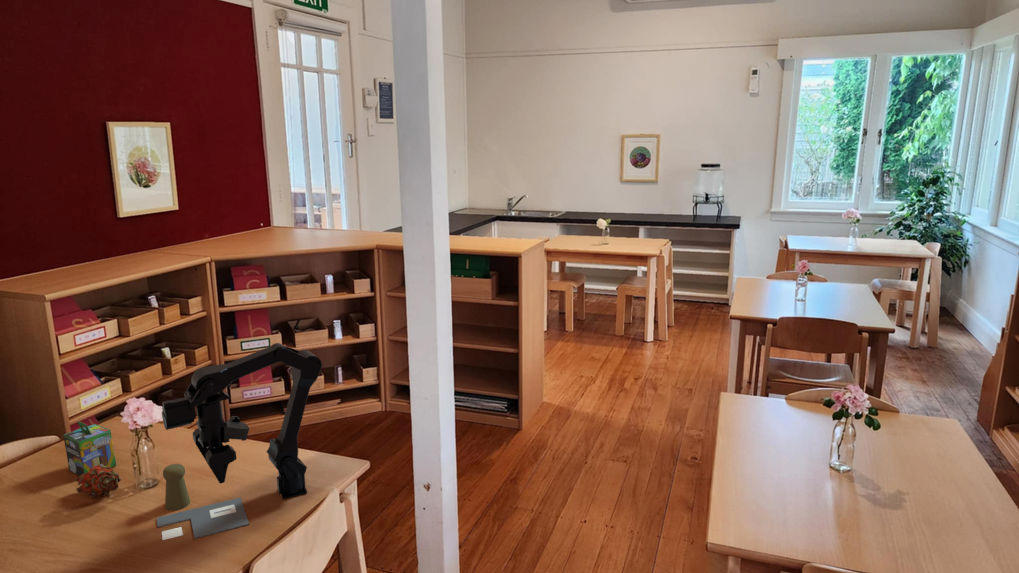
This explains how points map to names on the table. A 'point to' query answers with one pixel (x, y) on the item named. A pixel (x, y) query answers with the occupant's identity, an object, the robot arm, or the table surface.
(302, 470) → the robot arm
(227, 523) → the label panel
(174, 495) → the olive green pawn
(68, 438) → the chalk box
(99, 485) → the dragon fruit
